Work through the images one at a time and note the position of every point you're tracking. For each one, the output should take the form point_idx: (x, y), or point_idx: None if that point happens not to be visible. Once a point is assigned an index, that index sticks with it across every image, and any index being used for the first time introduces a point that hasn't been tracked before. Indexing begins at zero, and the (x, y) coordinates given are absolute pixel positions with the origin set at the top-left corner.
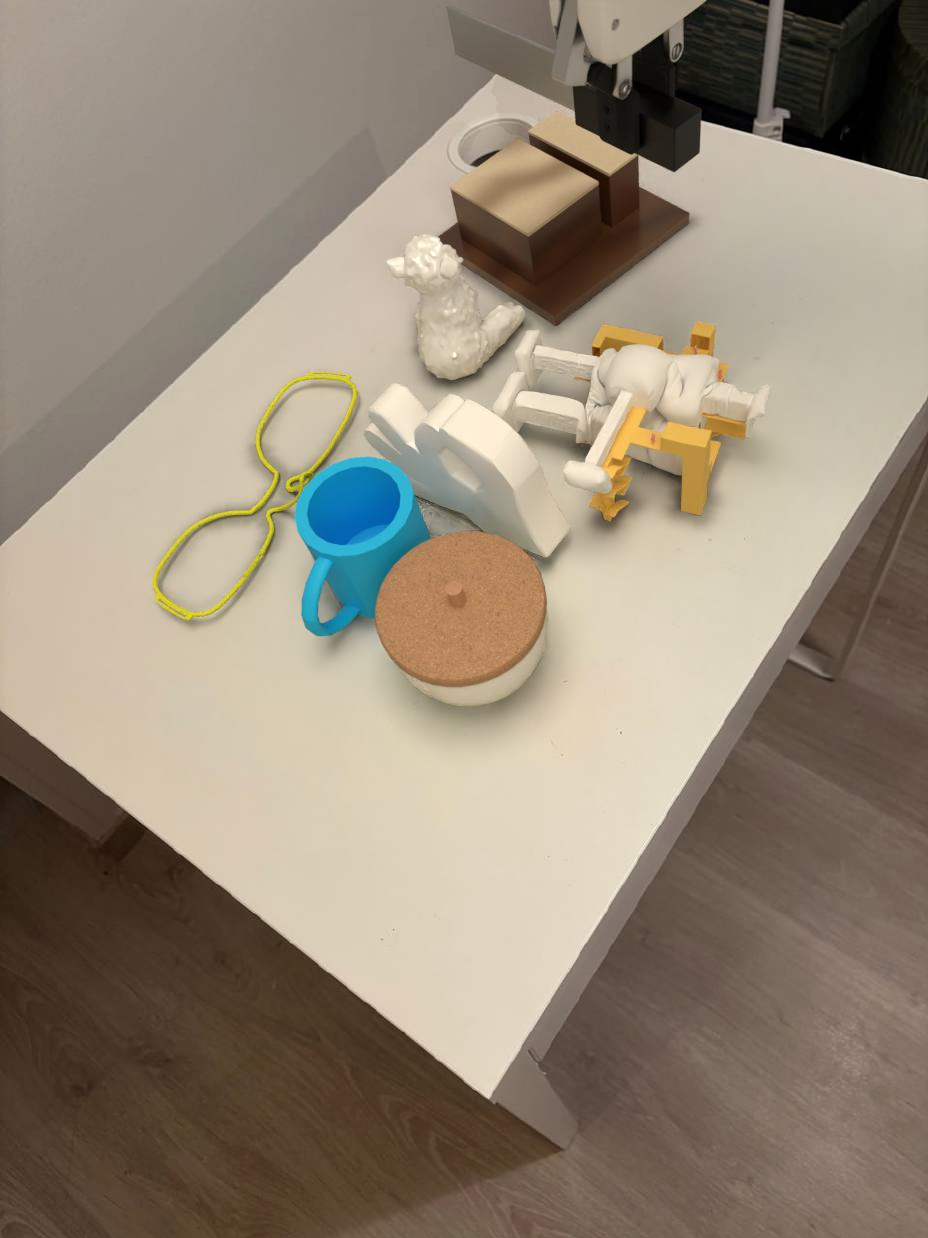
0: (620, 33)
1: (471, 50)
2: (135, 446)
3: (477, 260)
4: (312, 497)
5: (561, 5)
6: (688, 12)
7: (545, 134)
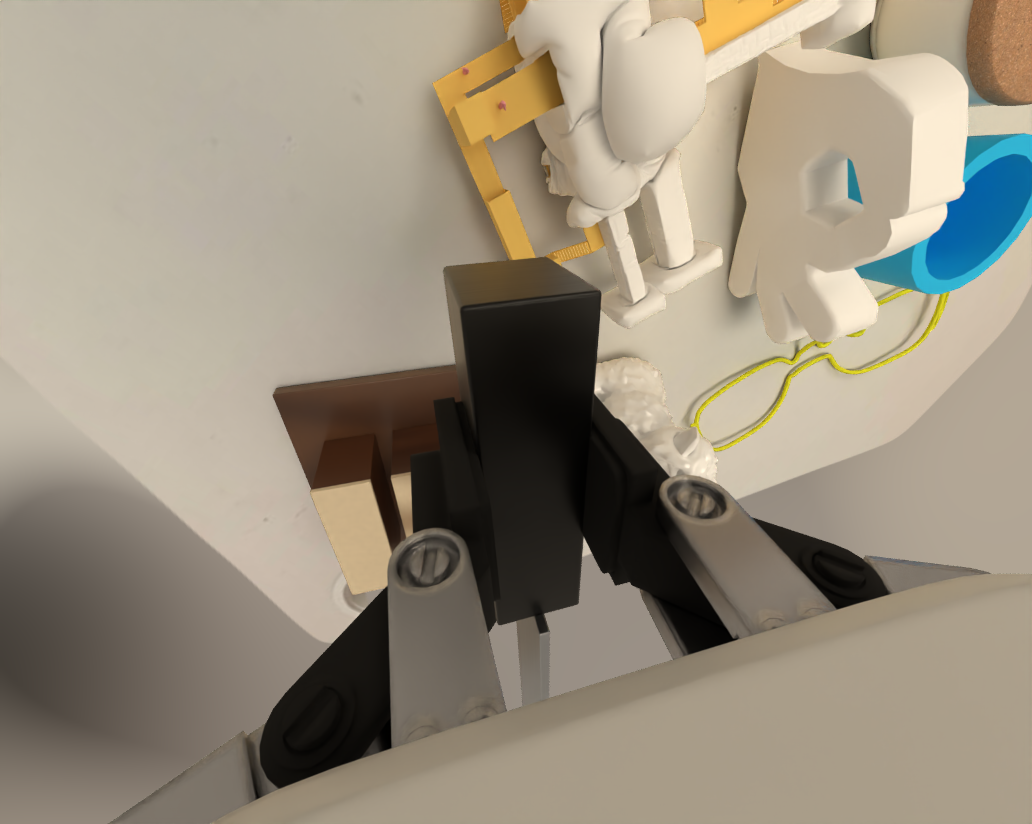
0: None
1: None
2: (801, 467)
3: None
4: (968, 269)
5: None
6: (518, 750)
7: None
